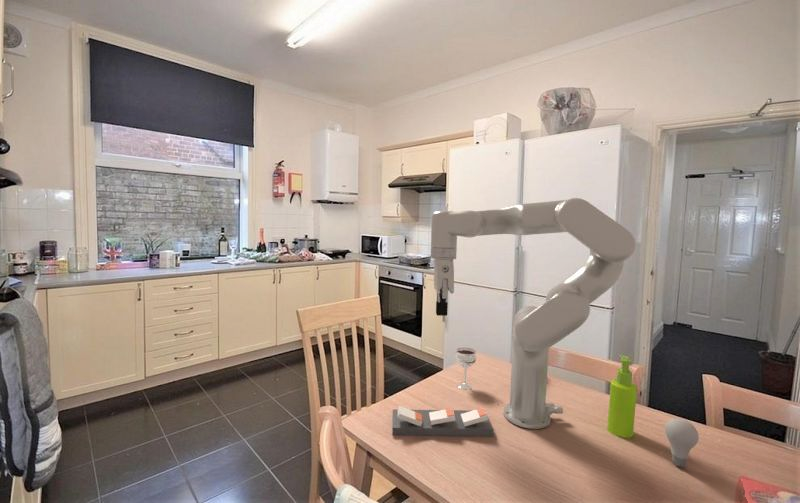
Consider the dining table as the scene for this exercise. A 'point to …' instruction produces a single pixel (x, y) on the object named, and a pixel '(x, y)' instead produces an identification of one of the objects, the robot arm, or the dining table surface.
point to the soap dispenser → (622, 402)
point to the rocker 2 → (474, 416)
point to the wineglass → (465, 363)
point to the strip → (440, 426)
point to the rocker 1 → (410, 416)
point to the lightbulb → (681, 439)
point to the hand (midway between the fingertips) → (441, 314)
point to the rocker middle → (442, 416)
